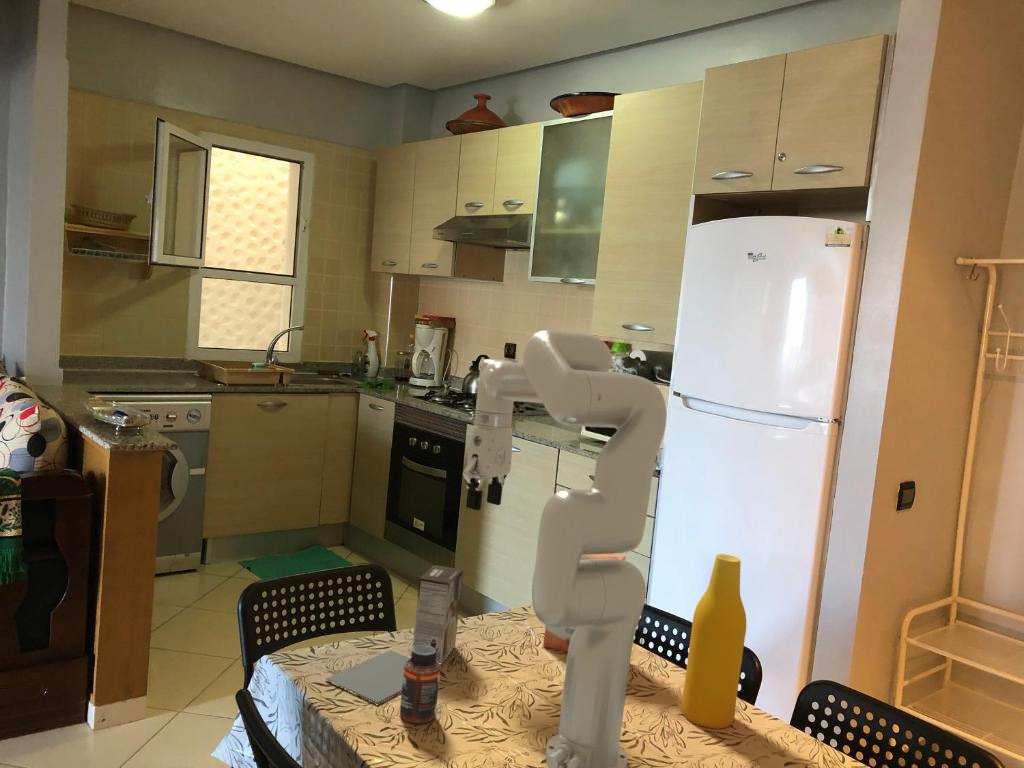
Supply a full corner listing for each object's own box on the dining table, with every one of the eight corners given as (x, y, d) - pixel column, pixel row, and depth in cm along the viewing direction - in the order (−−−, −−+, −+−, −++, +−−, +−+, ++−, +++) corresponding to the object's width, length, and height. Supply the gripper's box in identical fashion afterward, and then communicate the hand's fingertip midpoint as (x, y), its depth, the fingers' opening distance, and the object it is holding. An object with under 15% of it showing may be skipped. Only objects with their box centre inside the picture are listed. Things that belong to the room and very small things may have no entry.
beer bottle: (744, 727, 138) (767, 566, 136) (700, 732, 134) (722, 566, 132) (712, 701, 146) (733, 549, 144) (670, 705, 143) (691, 549, 141)
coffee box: (425, 641, 159) (433, 563, 158) (455, 647, 158) (464, 569, 156) (410, 659, 150) (419, 577, 149) (442, 665, 149) (451, 583, 147)
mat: (377, 705, 131) (377, 702, 131) (325, 681, 138) (325, 678, 137) (439, 672, 146) (439, 670, 146) (390, 652, 152) (390, 649, 152)
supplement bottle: (442, 715, 130) (450, 649, 129) (421, 729, 125) (428, 661, 124) (414, 703, 133) (420, 638, 132) (391, 716, 128) (398, 649, 127)
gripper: (484, 425, 151) (474, 516, 153) (530, 421, 166) (521, 504, 167) (453, 419, 155) (443, 508, 156) (500, 415, 170) (491, 496, 171)
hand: (483, 505), depth 162 cm, fingers open, 6 cm apart
